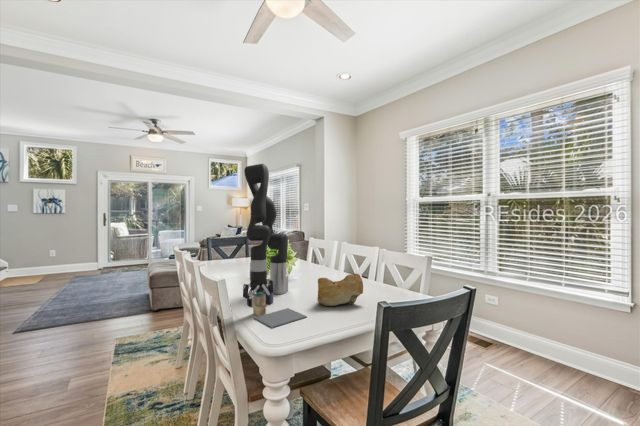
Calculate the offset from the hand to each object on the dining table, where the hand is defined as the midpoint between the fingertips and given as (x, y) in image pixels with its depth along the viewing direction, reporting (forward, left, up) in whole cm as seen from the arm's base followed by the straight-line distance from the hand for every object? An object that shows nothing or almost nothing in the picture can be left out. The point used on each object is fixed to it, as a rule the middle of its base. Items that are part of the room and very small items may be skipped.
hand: (258, 304), depth 139 cm
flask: (-10, -12, -4) cm, 16 cm away
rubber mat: (-4, +11, -4) cm, 13 cm away
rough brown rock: (-39, +12, -4) cm, 41 cm away
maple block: (0, 0, -4) cm, 4 cm away
